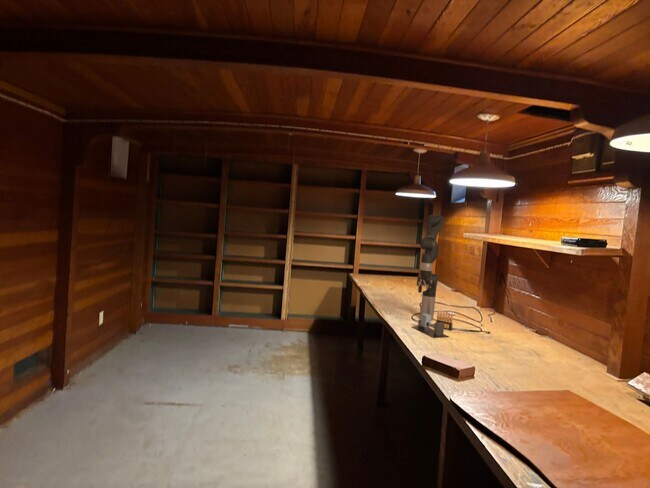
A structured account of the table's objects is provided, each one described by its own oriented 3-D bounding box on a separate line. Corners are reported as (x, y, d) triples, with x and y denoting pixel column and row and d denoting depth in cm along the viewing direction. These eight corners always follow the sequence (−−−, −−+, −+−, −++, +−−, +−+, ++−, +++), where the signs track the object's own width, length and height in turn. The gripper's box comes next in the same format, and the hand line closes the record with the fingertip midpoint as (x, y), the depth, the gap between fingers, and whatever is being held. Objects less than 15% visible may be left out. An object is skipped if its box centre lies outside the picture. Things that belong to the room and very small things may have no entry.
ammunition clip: (452, 330, 265) (454, 312, 264) (451, 330, 263) (453, 312, 262) (436, 326, 270) (438, 309, 270) (435, 327, 269) (437, 309, 268)
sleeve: (420, 325, 261) (421, 313, 261) (425, 324, 263) (426, 313, 262) (425, 327, 256) (426, 315, 256) (430, 327, 258) (431, 315, 258)
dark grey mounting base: (411, 327, 263) (412, 315, 263) (426, 326, 268) (427, 315, 268) (433, 337, 242) (434, 324, 242) (449, 337, 247) (450, 324, 246)
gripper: (415, 267, 269) (412, 291, 270) (427, 271, 256) (425, 296, 257) (424, 268, 272) (422, 291, 273) (437, 271, 258) (435, 296, 259)
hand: (423, 293), depth 265 cm, fingers open, 8 cm apart
